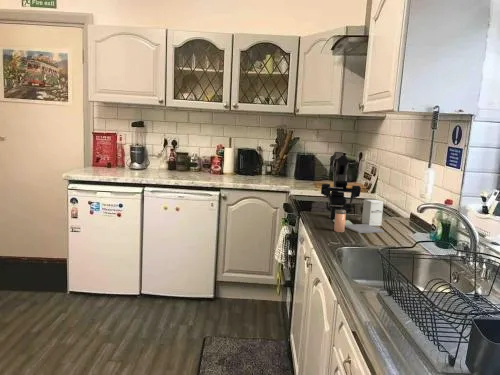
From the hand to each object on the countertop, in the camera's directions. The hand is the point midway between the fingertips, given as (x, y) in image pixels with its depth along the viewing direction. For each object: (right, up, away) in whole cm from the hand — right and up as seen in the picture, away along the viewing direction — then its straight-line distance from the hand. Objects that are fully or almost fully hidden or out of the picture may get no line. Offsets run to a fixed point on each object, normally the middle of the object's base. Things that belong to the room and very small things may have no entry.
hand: (340, 203), depth 210 cm
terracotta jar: (-1, -13, -3) cm, 13 cm away
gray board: (+12, -12, +4) cm, 17 cm away
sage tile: (+4, -11, +15) cm, 19 cm away
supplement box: (+19, -11, +16) cm, 27 cm away
